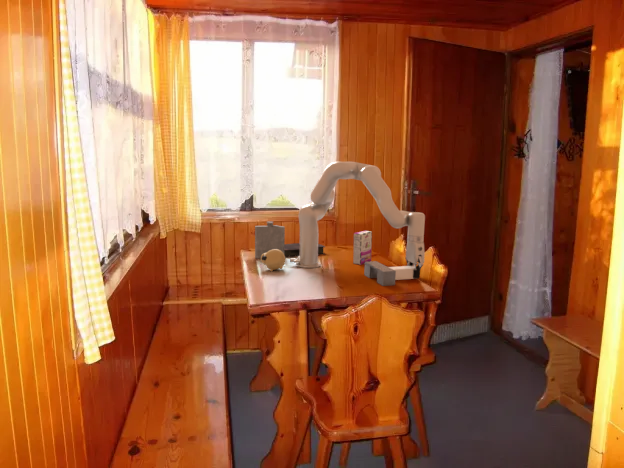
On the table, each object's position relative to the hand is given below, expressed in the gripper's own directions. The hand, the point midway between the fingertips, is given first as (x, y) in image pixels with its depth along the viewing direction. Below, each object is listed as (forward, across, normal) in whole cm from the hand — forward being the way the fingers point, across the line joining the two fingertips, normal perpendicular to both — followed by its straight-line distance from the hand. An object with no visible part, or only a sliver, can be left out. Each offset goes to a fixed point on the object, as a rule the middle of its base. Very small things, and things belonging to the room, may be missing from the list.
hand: (413, 276), depth 241 cm
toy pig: (+1, +30, +61) cm, 68 cm away
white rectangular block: (+1, 0, +6) cm, 6 cm away
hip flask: (+1, +57, +56) cm, 80 cm away
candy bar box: (+1, +35, +11) cm, 37 cm away
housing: (+1, 0, +18) cm, 18 cm away
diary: (+2, +66, +36) cm, 76 cm away
